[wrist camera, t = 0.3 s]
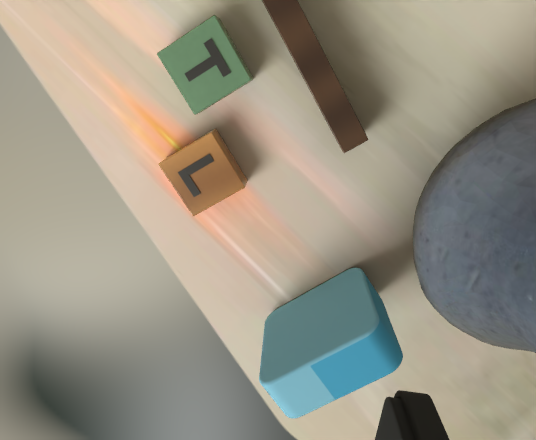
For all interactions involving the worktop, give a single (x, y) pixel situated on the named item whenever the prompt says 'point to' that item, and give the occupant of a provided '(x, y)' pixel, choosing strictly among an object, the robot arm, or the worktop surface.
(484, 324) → the pitcher
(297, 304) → the blue rounded slab
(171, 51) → the sage letter tile
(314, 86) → the walnut ledge
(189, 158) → the oak letter tile
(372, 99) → the worktop surface
